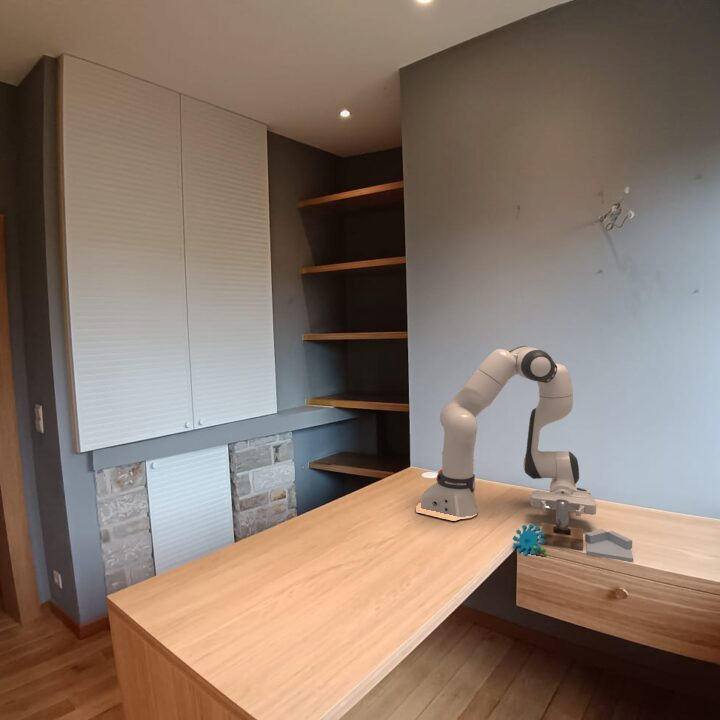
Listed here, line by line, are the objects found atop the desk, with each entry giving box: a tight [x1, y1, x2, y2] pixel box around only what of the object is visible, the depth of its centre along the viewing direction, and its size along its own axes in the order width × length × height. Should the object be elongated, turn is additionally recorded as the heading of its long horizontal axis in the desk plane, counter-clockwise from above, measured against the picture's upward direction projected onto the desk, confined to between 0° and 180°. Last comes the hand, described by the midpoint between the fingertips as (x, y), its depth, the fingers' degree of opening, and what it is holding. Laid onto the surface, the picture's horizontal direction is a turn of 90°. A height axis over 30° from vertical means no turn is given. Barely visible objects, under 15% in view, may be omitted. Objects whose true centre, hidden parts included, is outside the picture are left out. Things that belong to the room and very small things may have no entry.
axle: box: [555, 499, 569, 535], centre depth 150 cm, size 4×4×13 cm
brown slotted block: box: [540, 522, 584, 552], centre depth 150 cm, size 12×8×4 cm, turn 66°
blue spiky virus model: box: [512, 523, 548, 557], centre depth 145 cm, size 11×6×10 cm
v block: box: [584, 528, 634, 563], centre depth 145 cm, size 13×12×4 cm
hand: (562, 511), depth 154 cm, fingers open, 8 cm apart
